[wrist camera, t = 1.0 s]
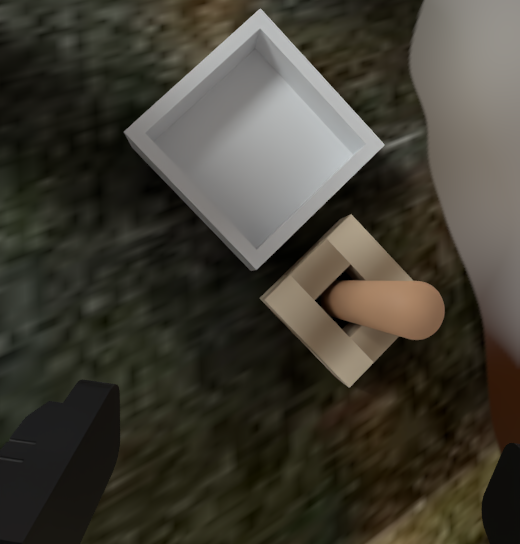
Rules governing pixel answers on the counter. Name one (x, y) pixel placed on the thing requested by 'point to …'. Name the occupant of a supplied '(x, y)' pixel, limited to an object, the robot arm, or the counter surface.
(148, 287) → the counter surface
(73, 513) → the robot arm
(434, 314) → the dowel
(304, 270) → the dowel holder
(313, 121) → the tray
